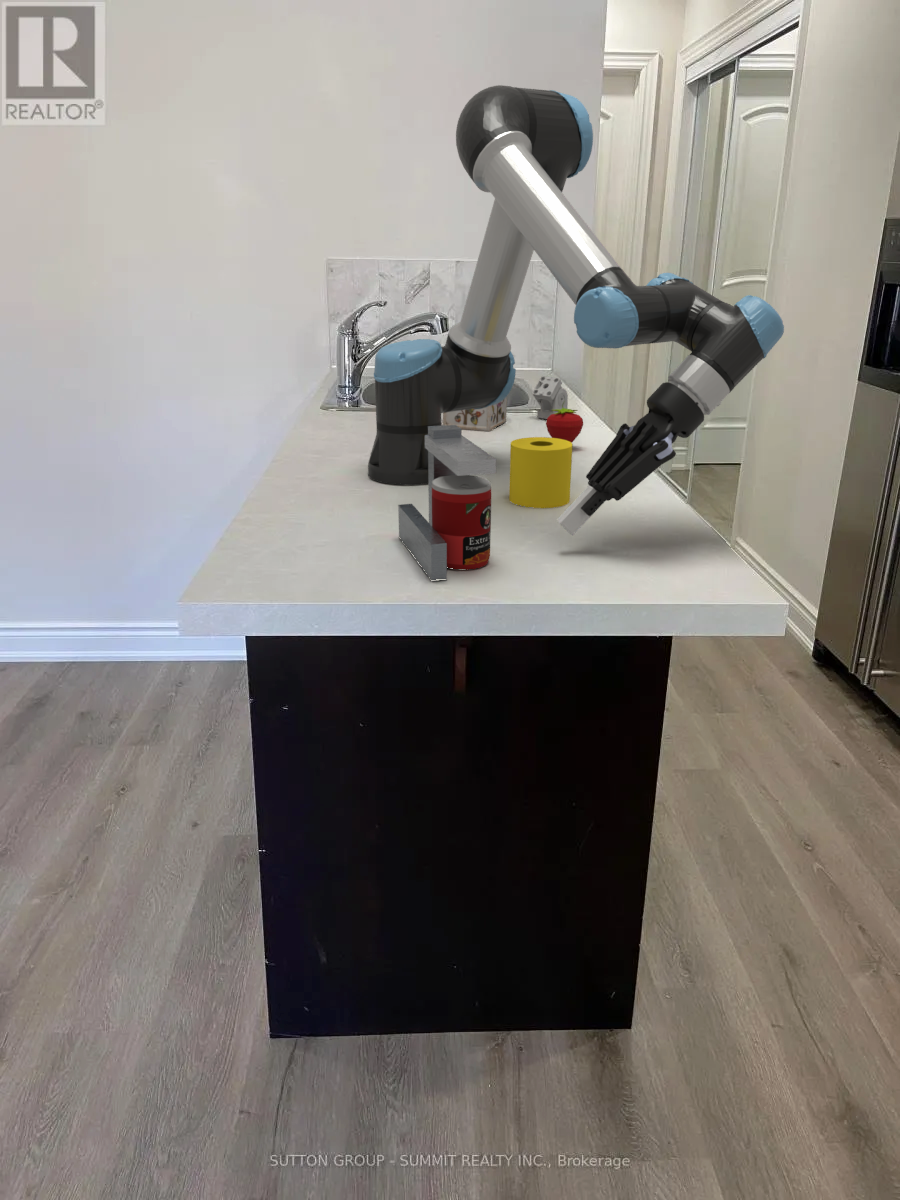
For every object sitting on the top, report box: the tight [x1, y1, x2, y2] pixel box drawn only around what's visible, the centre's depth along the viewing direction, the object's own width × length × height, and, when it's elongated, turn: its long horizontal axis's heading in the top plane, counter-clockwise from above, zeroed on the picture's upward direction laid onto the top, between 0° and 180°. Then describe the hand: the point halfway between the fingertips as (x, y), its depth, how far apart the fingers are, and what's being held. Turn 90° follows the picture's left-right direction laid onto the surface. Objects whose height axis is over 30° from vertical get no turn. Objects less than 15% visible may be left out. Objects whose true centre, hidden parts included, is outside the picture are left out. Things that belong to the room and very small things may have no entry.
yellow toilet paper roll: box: [508, 436, 573, 509], centre depth 149 cm, size 10×10×9 cm
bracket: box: [397, 424, 497, 581], centre depth 122 cm, size 10×20×16 cm, turn 16°
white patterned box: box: [442, 395, 508, 432], centre depth 205 cm, size 12×12×18 cm
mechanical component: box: [531, 375, 569, 420], centre depth 213 cm, size 5×8×10 cm
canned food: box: [432, 475, 492, 571], centre depth 120 cm, size 8×8×11 cm
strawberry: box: [545, 401, 584, 444], centre depth 183 cm, size 6×8×10 cm
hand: (564, 527), depth 124 cm, fingers closed
